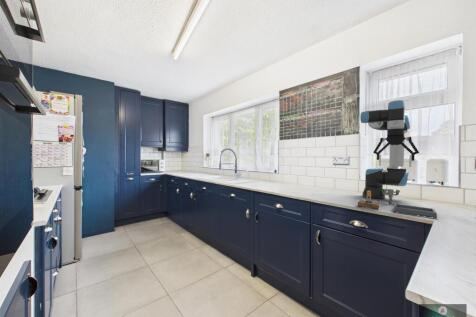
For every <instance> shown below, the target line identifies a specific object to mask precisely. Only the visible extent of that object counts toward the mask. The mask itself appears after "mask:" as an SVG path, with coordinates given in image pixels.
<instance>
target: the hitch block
mask: <svg viewBox="0 0 476 317" xmlns="http://www.w3.org/2000/svg"><path fill="white" fill-rule="evenodd" d="M357 207H358V208H362V207H364V208H363V209H369V208H370V209H371V210H377V211H378V209H379V208H380V201H376V200H371V203H368V202H367V199H362V198H360V199H359V200H358V201H357Z"/></svg>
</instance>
